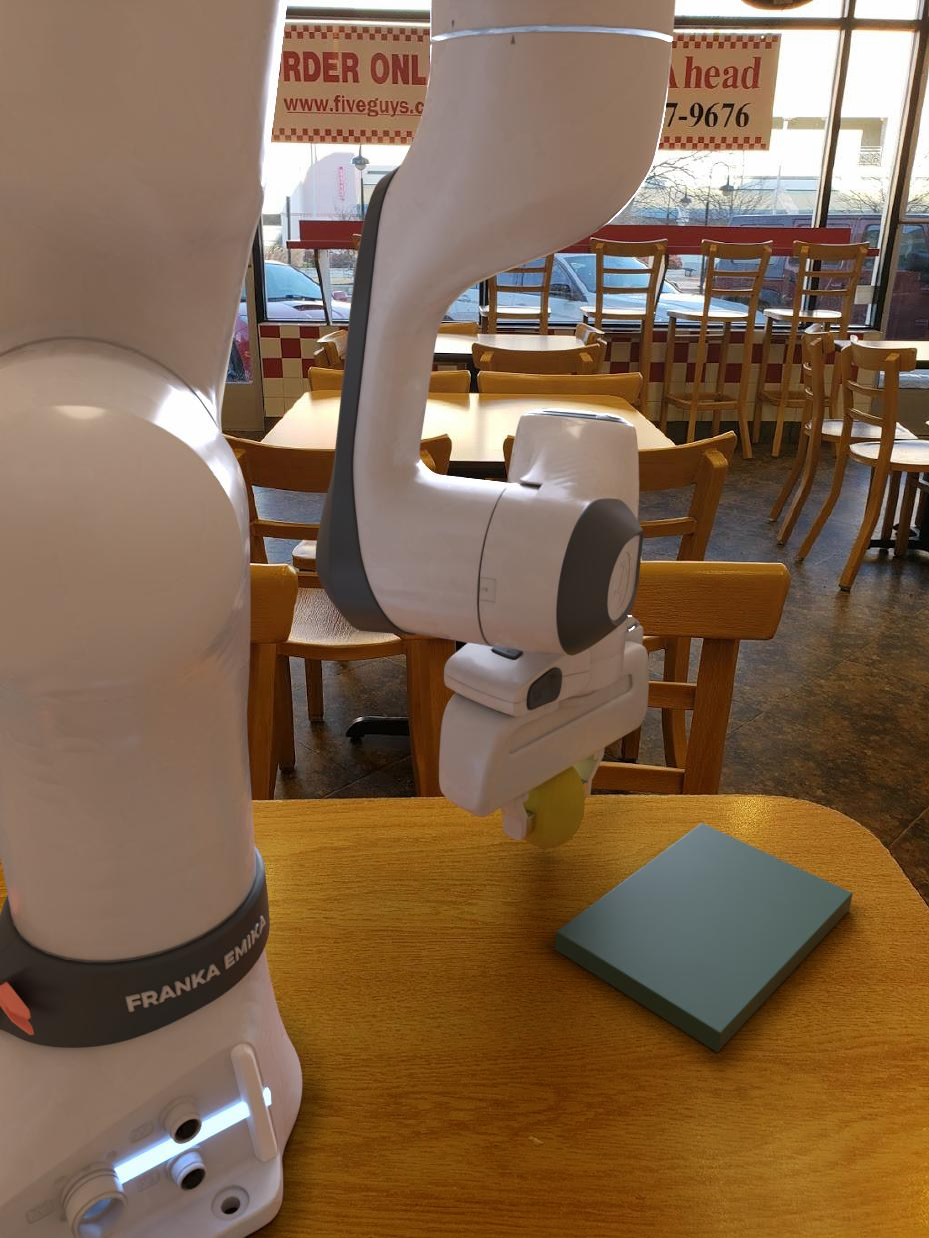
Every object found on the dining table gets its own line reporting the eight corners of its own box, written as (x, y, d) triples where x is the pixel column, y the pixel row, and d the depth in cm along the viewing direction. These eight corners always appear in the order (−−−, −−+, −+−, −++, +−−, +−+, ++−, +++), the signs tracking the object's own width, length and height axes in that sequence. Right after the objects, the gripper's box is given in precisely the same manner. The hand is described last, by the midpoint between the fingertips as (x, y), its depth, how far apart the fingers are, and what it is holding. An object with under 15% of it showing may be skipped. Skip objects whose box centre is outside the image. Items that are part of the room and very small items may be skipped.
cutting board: (717, 1053, 54) (720, 1033, 53) (554, 949, 61) (555, 931, 61) (849, 910, 66) (853, 892, 65) (699, 838, 74) (701, 822, 73)
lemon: (572, 877, 68) (581, 780, 65) (499, 861, 69) (504, 766, 67) (586, 835, 73) (595, 744, 70) (517, 822, 74) (523, 732, 71)
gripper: (608, 598, 74) (593, 753, 79) (425, 671, 60) (421, 853, 65) (678, 620, 70) (658, 781, 75) (500, 703, 56) (489, 894, 61)
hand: (547, 815), depth 70 cm, fingers closed on lemon, 5 cm apart
